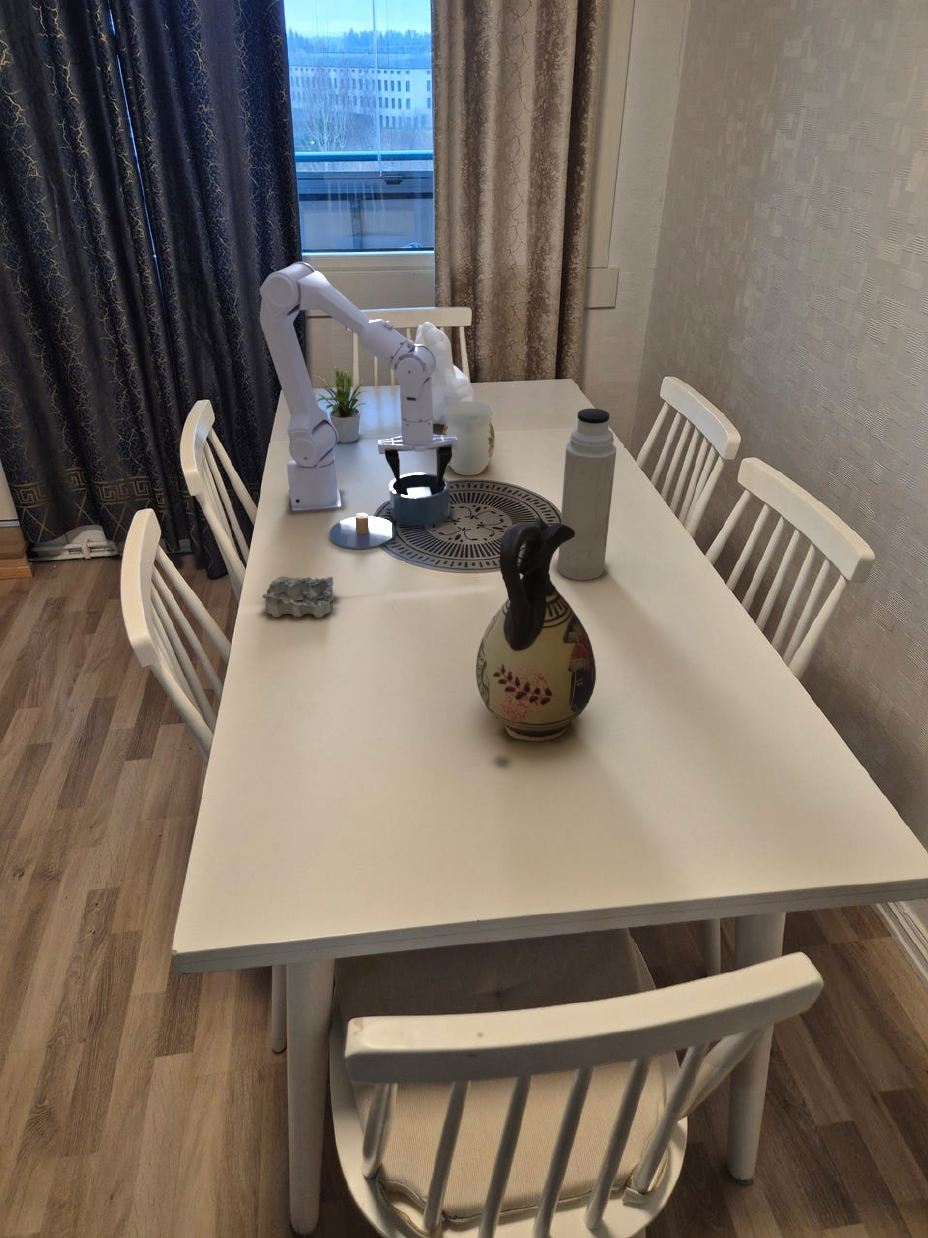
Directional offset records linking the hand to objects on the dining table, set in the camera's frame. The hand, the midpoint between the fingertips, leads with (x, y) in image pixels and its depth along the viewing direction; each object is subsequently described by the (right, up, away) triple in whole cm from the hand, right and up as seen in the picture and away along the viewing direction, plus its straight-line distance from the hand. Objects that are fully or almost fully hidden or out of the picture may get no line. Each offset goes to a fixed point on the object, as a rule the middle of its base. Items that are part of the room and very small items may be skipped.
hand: (419, 485), depth 160 cm
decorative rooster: (+3, +20, +42) cm, 47 cm away
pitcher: (+9, +7, +23) cm, 25 cm away
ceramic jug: (+17, -39, -47) cm, 64 cm away
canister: (0, -5, +3) cm, 6 cm away
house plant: (-20, +17, +37) cm, 45 cm away
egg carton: (-18, -23, -23) cm, 38 cm away
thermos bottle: (+29, -17, -14) cm, 36 cm away
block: (0, -5, +3) cm, 6 cm away
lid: (-10, -9, -4) cm, 15 cm away
